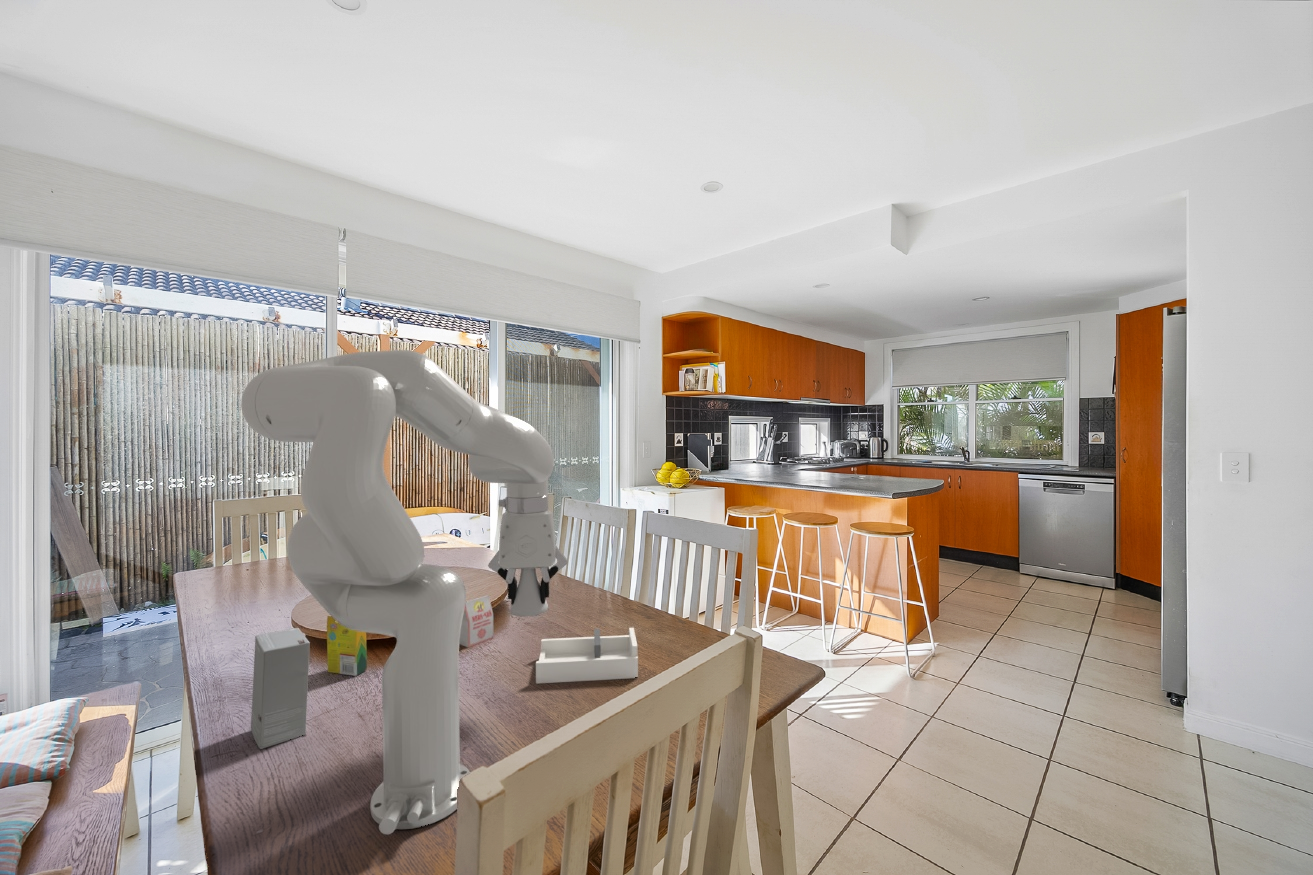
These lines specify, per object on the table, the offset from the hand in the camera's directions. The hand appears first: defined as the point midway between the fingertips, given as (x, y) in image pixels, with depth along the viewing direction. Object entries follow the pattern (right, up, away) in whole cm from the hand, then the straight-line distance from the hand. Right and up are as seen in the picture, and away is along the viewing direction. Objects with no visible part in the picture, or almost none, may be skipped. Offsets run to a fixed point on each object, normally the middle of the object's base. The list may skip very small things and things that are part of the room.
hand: (528, 600), depth 102 cm
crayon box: (-40, -18, +10) cm, 44 cm away
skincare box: (-38, -18, -12) cm, 44 cm away
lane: (+10, -17, +12) cm, 23 cm away
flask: (0, -2, 0) cm, 2 cm away
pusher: (+12, -16, +12) cm, 23 cm away
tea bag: (-18, -17, +25) cm, 36 cm away
